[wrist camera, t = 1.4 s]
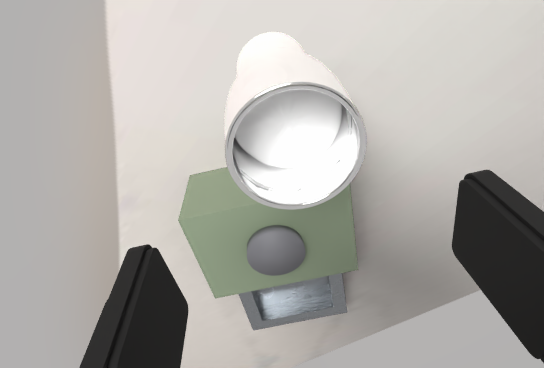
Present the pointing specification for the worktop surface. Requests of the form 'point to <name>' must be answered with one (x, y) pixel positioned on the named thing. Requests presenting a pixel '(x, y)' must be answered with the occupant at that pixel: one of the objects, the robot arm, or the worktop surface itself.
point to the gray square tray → (295, 302)
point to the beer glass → (290, 126)
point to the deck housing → (263, 236)
